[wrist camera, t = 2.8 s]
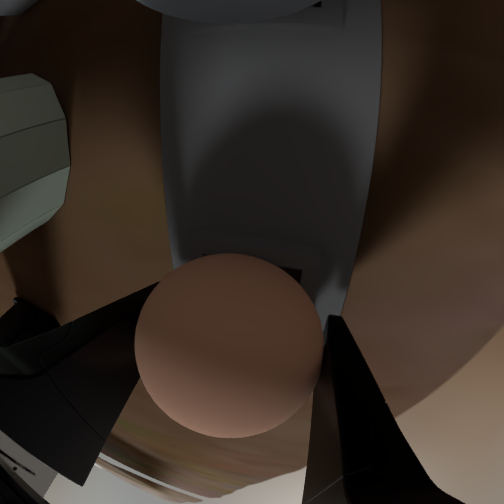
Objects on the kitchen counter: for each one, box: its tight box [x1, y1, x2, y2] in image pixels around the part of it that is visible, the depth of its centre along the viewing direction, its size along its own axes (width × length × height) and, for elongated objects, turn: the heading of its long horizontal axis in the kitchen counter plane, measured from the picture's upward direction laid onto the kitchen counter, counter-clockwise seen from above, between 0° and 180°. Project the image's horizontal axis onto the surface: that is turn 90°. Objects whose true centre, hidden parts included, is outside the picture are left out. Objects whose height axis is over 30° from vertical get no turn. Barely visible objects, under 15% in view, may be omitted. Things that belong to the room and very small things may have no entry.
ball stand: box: [160, 0, 382, 331], centre depth 7 cm, size 16×6×1 cm, turn 179°
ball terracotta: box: [135, 253, 324, 438], centre depth 7 cm, size 5×5×5 cm
